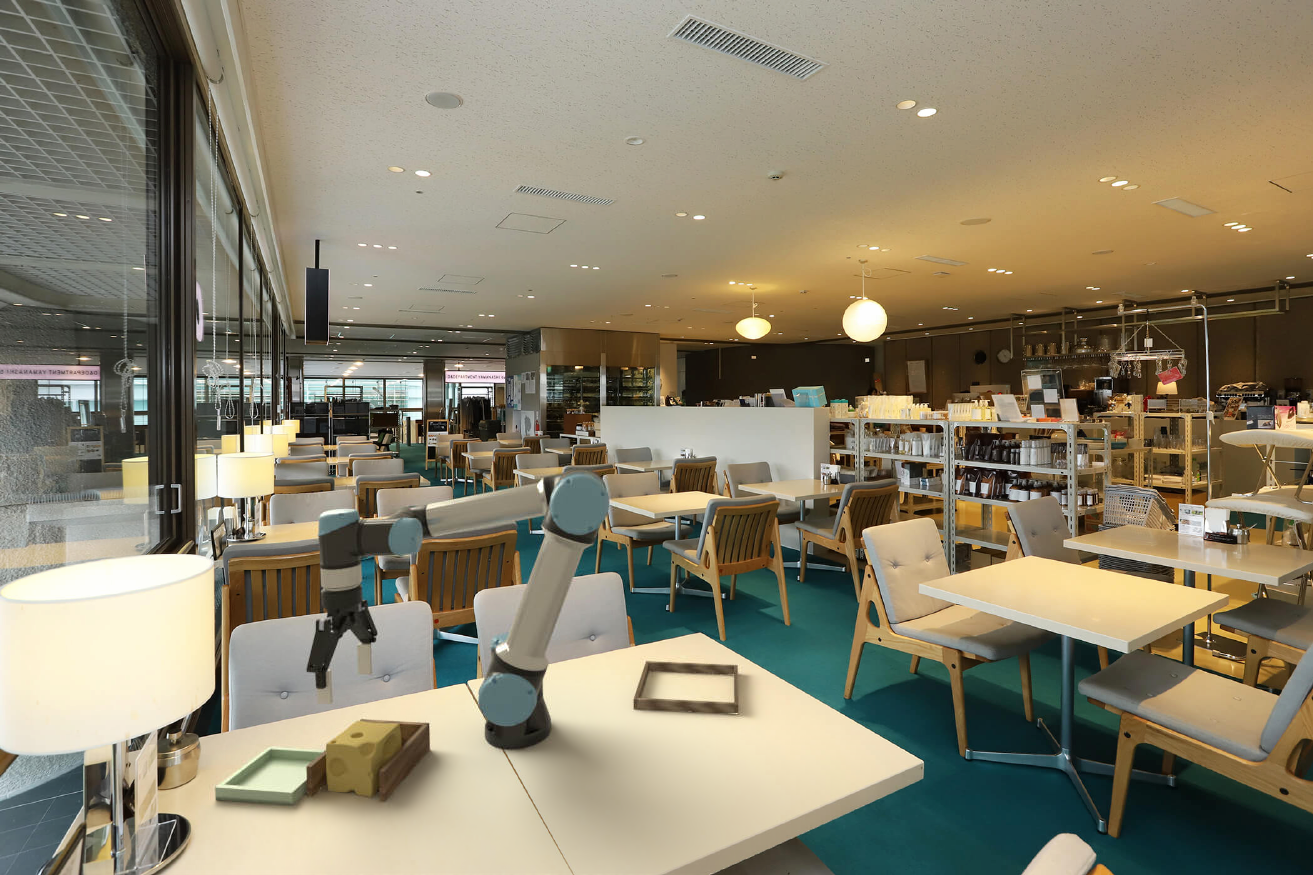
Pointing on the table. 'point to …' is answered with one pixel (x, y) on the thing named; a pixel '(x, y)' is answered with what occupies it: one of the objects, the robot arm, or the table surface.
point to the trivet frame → (686, 704)
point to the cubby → (395, 769)
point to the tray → (270, 777)
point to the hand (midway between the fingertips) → (346, 687)
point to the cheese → (361, 756)
